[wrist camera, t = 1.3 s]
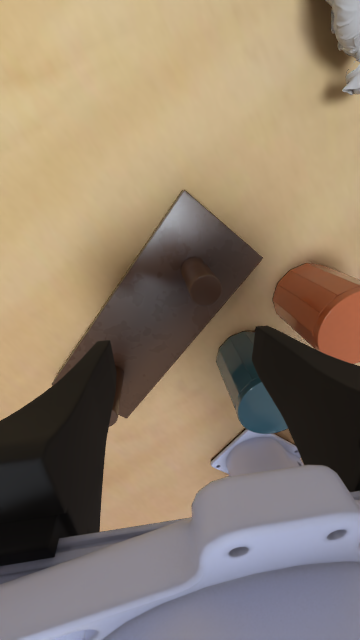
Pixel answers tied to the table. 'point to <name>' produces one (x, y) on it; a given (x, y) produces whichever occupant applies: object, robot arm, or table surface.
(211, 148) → the table surface
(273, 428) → the teal cup
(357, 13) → the soldier figure
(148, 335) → the cup stand
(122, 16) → the table surface
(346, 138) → the table surface
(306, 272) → the terracotta cup
